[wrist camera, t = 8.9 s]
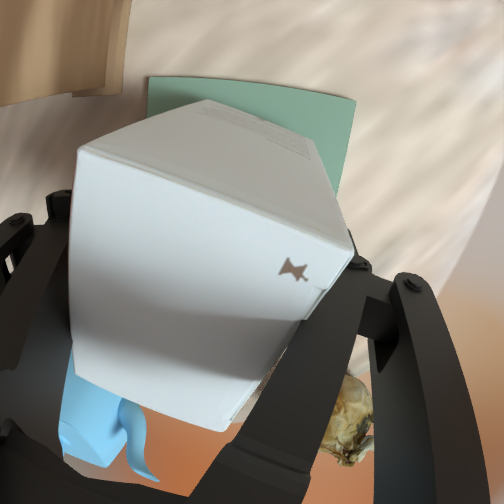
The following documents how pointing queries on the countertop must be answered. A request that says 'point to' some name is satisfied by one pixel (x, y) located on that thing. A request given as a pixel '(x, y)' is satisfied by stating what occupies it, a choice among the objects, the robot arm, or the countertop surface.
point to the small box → (197, 257)
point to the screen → (61, 48)
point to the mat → (268, 111)
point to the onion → (350, 424)
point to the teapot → (100, 424)
